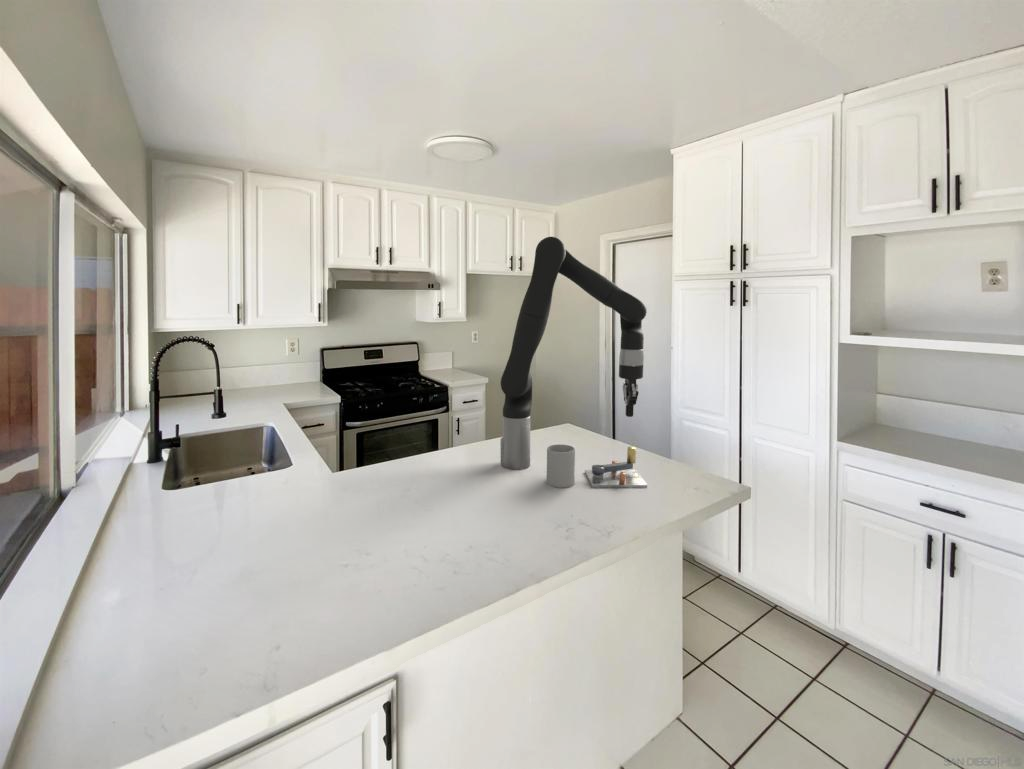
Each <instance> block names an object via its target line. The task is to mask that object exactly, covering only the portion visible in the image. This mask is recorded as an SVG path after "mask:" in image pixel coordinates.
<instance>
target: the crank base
mask: <svg viewBox="0 0 1024 769" xmlns="http://www.w3.org/2000/svg"><path fill="white" fill-rule="evenodd" d="M613 463H619V462H618V461H617V460H612V461H611V464H613ZM584 474H585V477H586V478H587V480H588V482H589V485H590V486H591V488H592V489H596V488H597V489H598V488H599V489H602V488H605V489H607V488H616V489H617V488H618V489H619V488H648V484H647V483H646V481H645V480H644V479H643V478H642V476H641V475H640V473H639V472H638V470H636V469H627V470H620V471H613V472H606V473H604V474H600V475H598V474H593V473H592V469H585V470H584Z"/></svg>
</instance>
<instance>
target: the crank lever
mask: <svg viewBox="0 0 1024 769" xmlns="http://www.w3.org/2000/svg"><path fill="white" fill-rule="evenodd" d="M626 453H627V454H626V455H627V456H626V461H621V462H618V463H613V464H612V463H607V464H593V465H592V466H591V470H592V473H593V474H598V475H600V474H604V473H606V472H613V471H620V470H634V469H633V468H634V467H633V466H634V464H636V459H637V458H636V454H637V448H636V446H628V447H627V451H626Z"/></svg>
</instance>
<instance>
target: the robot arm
mask: <svg viewBox="0 0 1024 769" xmlns="http://www.w3.org/2000/svg"><path fill="white" fill-rule="evenodd" d="M534 255H535V256H534V262H533V268H532V273H531V278H530V282H529V284H528V287H527V289H526V292H525V295H524V297H523V300H522V304H521V306H520V309H519V314H518V317H517V321H516V325H515V329H514V335H513V338H512V342H511V343H512V345H511V350H510V353H509V356H508V359H507V363H506V365H505V368H504V371H503V373H502V375H501V377H500V378H501V379H500V389H501V390H502V392H503V394H504V396H505V397H504V403H503V406H502V437H501V438H500V466H501V467H504V468H505V469H508V470H524V469H528V468H529V467H531V411H532V410H531V409H532V405H533V376H532V374H531V372H530V371H531V366H532V362H533V359H534V355H535V354H536V351H537V350H538V348H539V345H540V343H541V341H542V338H543V336H544V333H545V330H546V326H547V324H548V320H549V317H550V312H551V306H552V298H553V291H554V287H555V283H556V280H557V277H558V275H559V274H560V275H562V276H564V277H565V278H566V279H569V280H570V281H571V282H573V283H575V285H577V286H578V287H579V288H581V289H582V290H583V291H584V292H586V294H588V295H589V296H591V297H592V298H594V299H595V300H597V301H598V302H599V303H601V304H602V305H604V306H605V307H608V308H610V309H612V310H613V311H615V312H616V313H617V314H619V318H620V320H619V321H620V332H621V333H620V334H621V336H620V350H619V358H618V359H619V362H618V377H619V379H622V380H623V379H624V382H623V385H622V393H623V401H624V404H625V416H626V417H628V418H632V417H634V406H635V405H636V404H637V402H638V397H639V391H638V390H639V388H638V387H639V385H638V384H637V380H641V379H643V377H644V361H645V360H644V359H645V358H644V357H645V355H644V332H643V331H642V325H643V324H642V321H643V320H644V319H645V318H646V315H647V307H646V305H645V303H644V302H643V301H642V300H640V299H639V298H637V297H636V296H634V295H633V294H632V293H631V294H630V293H629V292H627V291H625V290H624V289H622V288H621V287H619V286H618V285H617V284H616V283H614V282H613V281H611V280H610V279H608V278H607V277H606V276H604V275H603V274H601V273H599V272H597V271H596V270H594V269H593V268H590V267H589V266H588V265H585V264H583V263H582V262H581V261H580V260H578V259H577V258H576V257H574V256H573V255H572V254H571V252H569V250H567V249H566V246H565V243H564V242H563V241H562V240H561V239H560V238H558V237H555V236H548V237H544V238H543V239H542V240H540V241H539V242H538V244H537V245H536V247H535V252H534Z"/></svg>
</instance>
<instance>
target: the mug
mask: <svg viewBox="0 0 1024 769" xmlns="http://www.w3.org/2000/svg"><path fill="white" fill-rule="evenodd" d="M575 461H576V449H575V447H574V446H572V445H569V444H560V443H559V444H552V445H548V446H547V448H546V484H547V485H549V486H550V487H552V488H557V489H567V488H570V487H573V486H574V485H575V472H576V471H575V470H576V469H575V468H576V462H575Z"/></svg>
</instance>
